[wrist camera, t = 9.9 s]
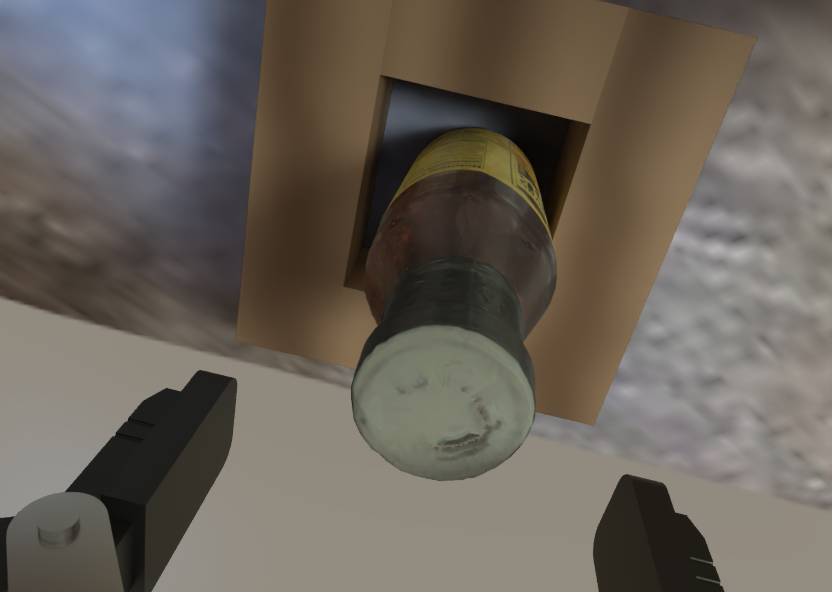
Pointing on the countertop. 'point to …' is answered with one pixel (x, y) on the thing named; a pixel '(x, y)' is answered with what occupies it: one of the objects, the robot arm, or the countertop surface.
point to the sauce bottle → (455, 309)
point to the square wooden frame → (501, 82)
